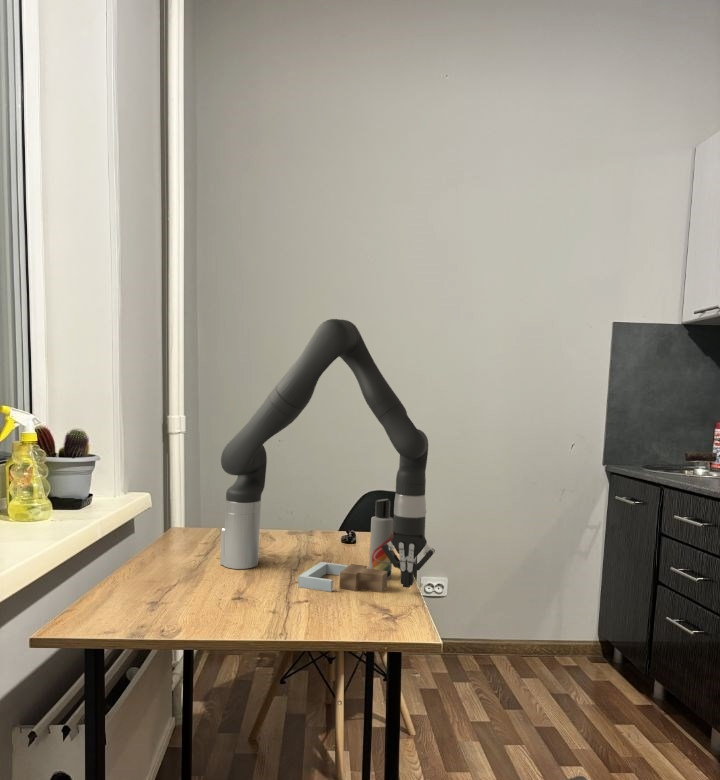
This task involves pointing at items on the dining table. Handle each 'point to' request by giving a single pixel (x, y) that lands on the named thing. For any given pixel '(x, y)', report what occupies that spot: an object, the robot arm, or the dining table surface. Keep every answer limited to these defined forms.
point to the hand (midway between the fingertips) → (406, 586)
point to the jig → (314, 575)
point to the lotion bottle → (381, 536)
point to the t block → (363, 578)
